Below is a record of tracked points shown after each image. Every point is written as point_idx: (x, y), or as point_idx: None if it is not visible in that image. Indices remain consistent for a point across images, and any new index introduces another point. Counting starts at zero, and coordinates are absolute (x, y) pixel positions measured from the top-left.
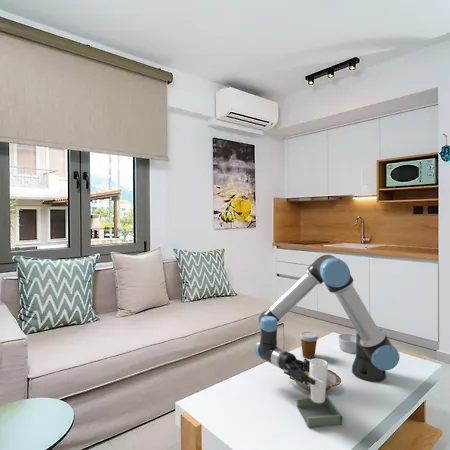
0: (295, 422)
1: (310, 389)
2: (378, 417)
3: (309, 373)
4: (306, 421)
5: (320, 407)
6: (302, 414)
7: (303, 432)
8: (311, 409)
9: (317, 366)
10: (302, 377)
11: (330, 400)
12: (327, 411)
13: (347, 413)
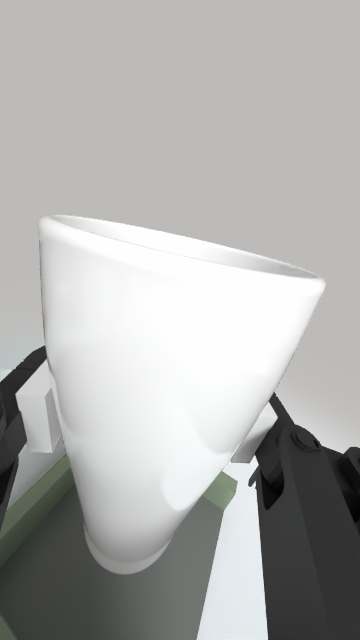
0: (262, 589)
1: (178, 527)
2: (3, 375)
3: (239, 446)
4: (215, 533)
5: (39, 595)
6: (195, 622)
7: (256, 493)
8: (103, 629)
9: (255, 261)
10: (357, 452)
11: (4, 516)
12: (65, 518)
13: (22, 449)
